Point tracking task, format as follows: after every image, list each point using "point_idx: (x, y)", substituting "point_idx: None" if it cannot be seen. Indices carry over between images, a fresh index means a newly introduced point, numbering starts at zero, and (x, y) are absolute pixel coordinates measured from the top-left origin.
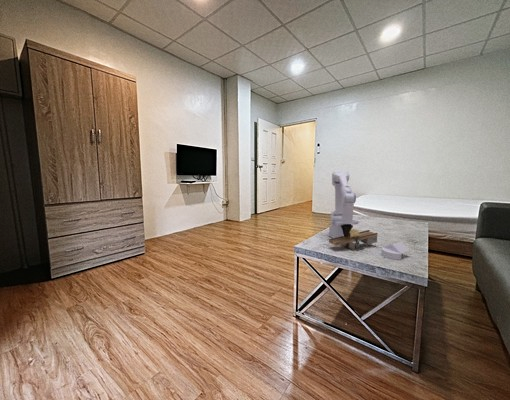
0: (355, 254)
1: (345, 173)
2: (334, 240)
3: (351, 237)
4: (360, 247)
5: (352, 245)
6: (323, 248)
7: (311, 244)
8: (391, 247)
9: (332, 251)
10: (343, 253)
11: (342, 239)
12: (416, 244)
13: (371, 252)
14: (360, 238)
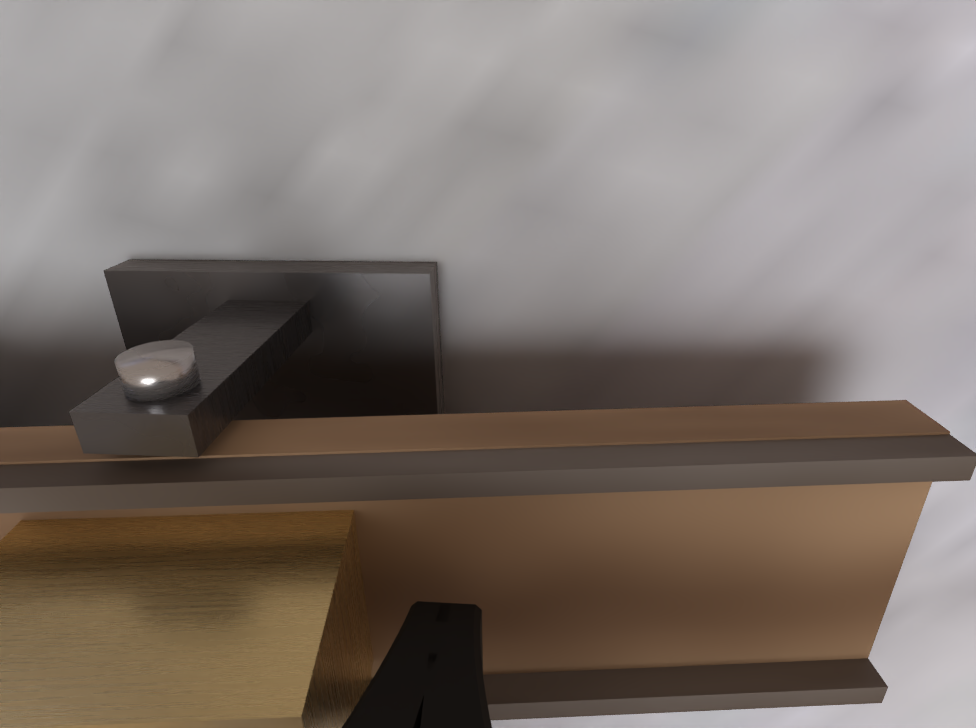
0: (513, 58)
1: None
2: (772, 618)
3: (303, 549)
4: (172, 313)
5: None
6: (929, 528)
7: (966, 712)
8: None
9: (895, 360)
10: (753, 196)
11: (554, 588)
12: None
13: (38, 63)
14: (13, 454)
